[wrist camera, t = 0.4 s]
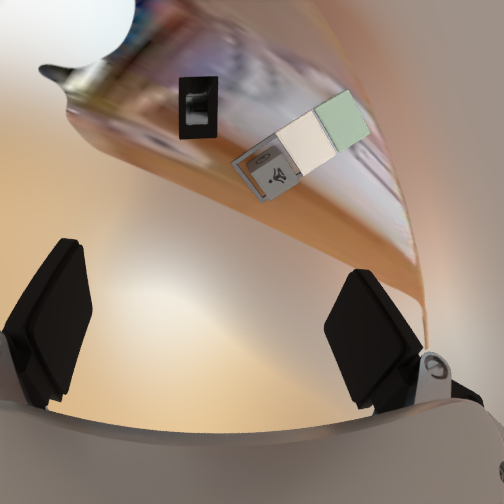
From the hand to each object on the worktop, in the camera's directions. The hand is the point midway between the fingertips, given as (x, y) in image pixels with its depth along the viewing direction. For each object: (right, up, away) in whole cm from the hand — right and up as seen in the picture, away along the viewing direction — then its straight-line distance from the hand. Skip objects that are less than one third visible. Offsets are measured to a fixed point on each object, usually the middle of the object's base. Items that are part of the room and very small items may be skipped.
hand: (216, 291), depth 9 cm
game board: (+9, +18, +31) cm, 37 cm away
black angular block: (-6, +22, +26) cm, 35 cm away
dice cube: (+4, +14, +33) cm, 36 cm away
